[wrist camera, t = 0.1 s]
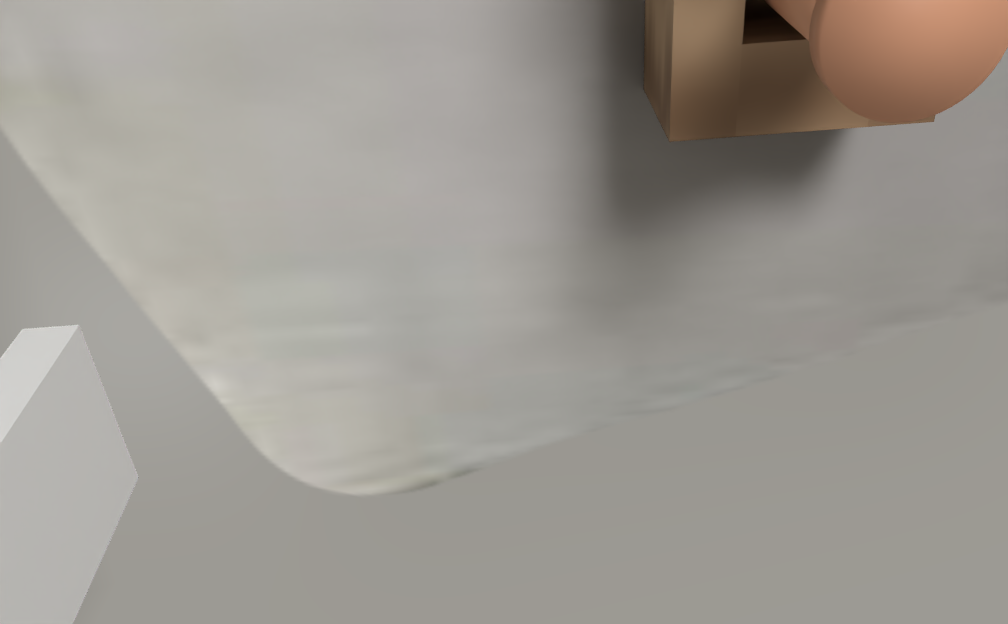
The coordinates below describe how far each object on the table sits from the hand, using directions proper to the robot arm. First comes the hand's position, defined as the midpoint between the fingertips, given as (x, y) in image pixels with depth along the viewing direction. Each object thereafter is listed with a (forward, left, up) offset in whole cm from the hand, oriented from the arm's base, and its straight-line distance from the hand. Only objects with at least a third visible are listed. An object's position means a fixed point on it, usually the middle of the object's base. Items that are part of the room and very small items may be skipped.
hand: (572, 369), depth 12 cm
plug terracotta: (0, +11, -23) cm, 25 cm away
